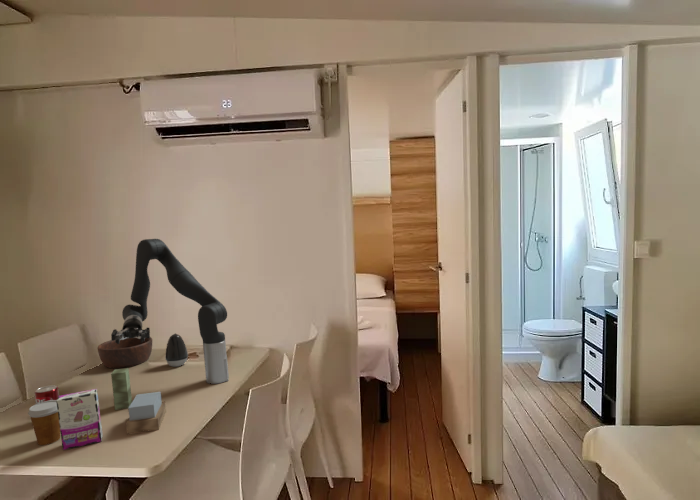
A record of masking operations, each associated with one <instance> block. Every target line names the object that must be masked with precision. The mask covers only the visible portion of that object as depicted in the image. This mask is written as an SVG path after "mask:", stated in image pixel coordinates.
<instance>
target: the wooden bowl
mask: <svg viewBox="0 0 700 500" xmlns="http://www.w3.org/2000/svg"><path fill="white" fill-rule="evenodd" d="M96 350H97V353H98V356H99V360H100V361H101V362H102V364H103V365H104V366H105V367H106V368H109V369H125V368H129V367H134V366H137V365H141V364H143V363H145V362H147V361H148V360H149V359H150V357H151V354H152V352H153V351H152V350H153V338H152V337H151V336H150V338H145V341H143V342H141V338H140V339H138V338H136V337H135V338H126V339H124V340H120V342H119V344H117V343H115V340H114V341H112V340H111V339H110V340H107V341H104V342H102V343H100V344H99V345H98V346H97V349H96Z"/></svg>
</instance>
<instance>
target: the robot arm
mask: <svg viewBox="0 0 700 500" xmlns="http://www.w3.org/2000/svg"><path fill="white" fill-rule="evenodd" d="M135 254H136V255H135V272H134V273H135V274H134V281H133V285H132V290H131V293H130V300H131V301H132V302H134V303H136V304H138V305H135V304H126V305H125V306H124V307H123V308H122V314H121V315H122V318H123V320H124V321H123V323H122V328H121V330H117V329H115V328H114V329H113V330H112V332H111V336H110V337H111V339H110V340H112V341H114V340H115V343H117V344H119V342H120V340H124V339H126V338H135V337H136V338H138V339H140V338H141V342H143V341H145V338H150V337H151V336H150V335H151V332H150V331H151V330H150V327H146V328H145V329H143V322H145V321H146V319H147V318H148V297H149V292H150V288H151V282H150V281H151V280H150V278H149V274H148V273H149V272H148V266H149V264H150V261H152V260H157V261H158V262H159V263H160V264H161V265H162V266H163V268H164V269H165V271H166V277H167V282H169V284H170V285H171V286H172V287H173V288H174V289H175V290H176V292H178V293H179V294H180V295H182V296H184V297H185V298H187V299H189V300H192V301H194V302H196V303H198V305H199V306H201V307H200V308H199V310H198V313H197V321H198V329H199V335H200V337H201V339H202V348H203V358H204V369H205V371H204V372H205V382H206V383H207V384H210V383H211V385H215V384H221V383H224V382H228V381H229V379H230V377H229V365H228V356H227V347H226V334H225V333H224V332H222V331H219V330H218V325H219V324H222V323H224V322H225V321H226V320H227V318H228V311H227V309H226V306H225V305H223V303H222V302H221V301H220V300H218V299H217V298H216V297H215V296H213V295H212V294H211V293H210V292H209V291H208V290H207V289H206V288H205V287H204V286H203V284H201V283H200V282H199V281H198V280H197V278H195V276H194V275H193V274H191V272H190V271H189V270H188V269H187V268H186V267H185V266H184V265H183V264H182V263H181V262H180V261H179V260H178V258H176V256H175V255H174V254H173V252H172V251H171V250H170V248H169V247H168V246H167V244H166V243H165V242H164V241H163V240H162V239H160V238H148V239H147V238H145V239H142V240H140V241H139V242H138V244H137V247H136V253H135Z"/></svg>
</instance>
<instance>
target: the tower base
mask: <svg viewBox="0 0 700 500" xmlns="http://www.w3.org/2000/svg"><path fill="white" fill-rule="evenodd" d="M166 407H167V406H166V401H162V404H161V406H160V408H159V410H158V412H157V414H156V416H155V418H147V419H140V420H132V421H130V419H129V417H128V418H127V419H126V422H125V427H126V435H132V434H138V433H139V434H140V433H145V432H153V431H159V430H160V428H161V426H162V423H163V421H164V419H165V416H166V413H167V408H166Z"/></svg>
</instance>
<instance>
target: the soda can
mask: <svg viewBox="0 0 700 500" xmlns="http://www.w3.org/2000/svg"><path fill="white" fill-rule="evenodd" d="M59 396H60V392H59V387H58V386H57V385H54V384H53V385H51V384H50V385H45V386H42V387H40V388H37V389H36V390H35V391H34V398H35V399H34V400H35V404H38V403H41V402H45V401H50V400H57V399H58V397H59Z"/></svg>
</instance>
